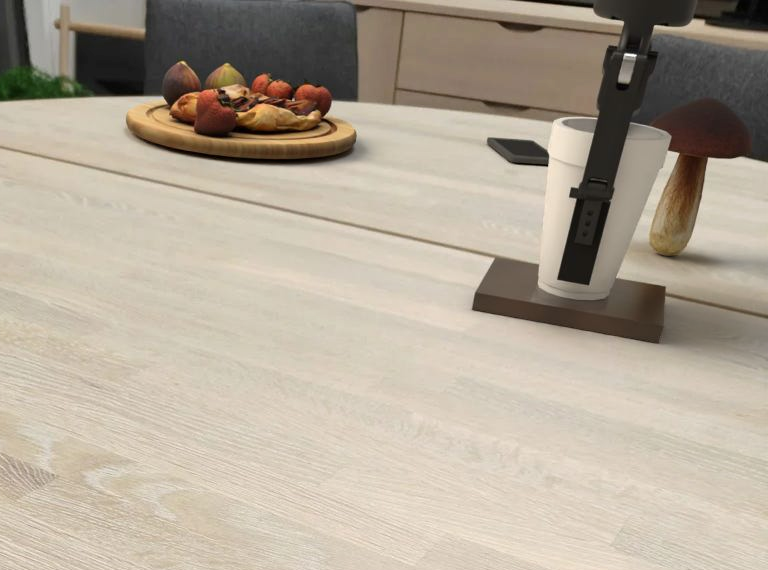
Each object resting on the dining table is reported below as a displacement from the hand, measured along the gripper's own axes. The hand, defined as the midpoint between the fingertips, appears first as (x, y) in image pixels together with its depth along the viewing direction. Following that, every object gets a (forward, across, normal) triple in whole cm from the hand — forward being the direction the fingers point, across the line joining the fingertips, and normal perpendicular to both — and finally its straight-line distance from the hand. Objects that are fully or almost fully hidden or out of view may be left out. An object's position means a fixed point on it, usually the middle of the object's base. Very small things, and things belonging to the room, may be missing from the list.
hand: (578, 266), depth 88 cm
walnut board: (+4, 0, 0) cm, 4 cm away
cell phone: (+4, -68, -13) cm, 69 cm away
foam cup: (+2, 0, 0) cm, 2 cm away
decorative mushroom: (+4, -24, +8) cm, 26 cm away
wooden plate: (+4, -50, -50) cm, 71 cm away
